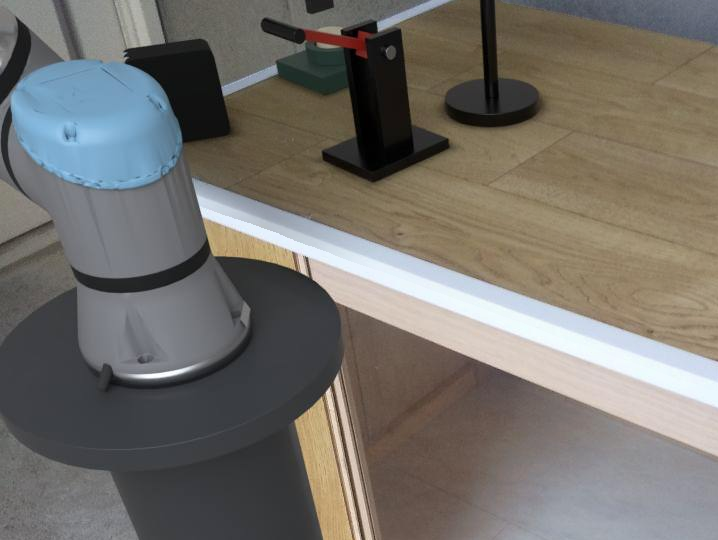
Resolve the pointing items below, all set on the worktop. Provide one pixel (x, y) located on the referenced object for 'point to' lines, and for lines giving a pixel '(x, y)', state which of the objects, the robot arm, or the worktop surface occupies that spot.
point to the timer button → (329, 30)
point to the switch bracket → (380, 110)
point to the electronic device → (186, 85)
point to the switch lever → (314, 36)
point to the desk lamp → (491, 87)
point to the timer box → (315, 68)
